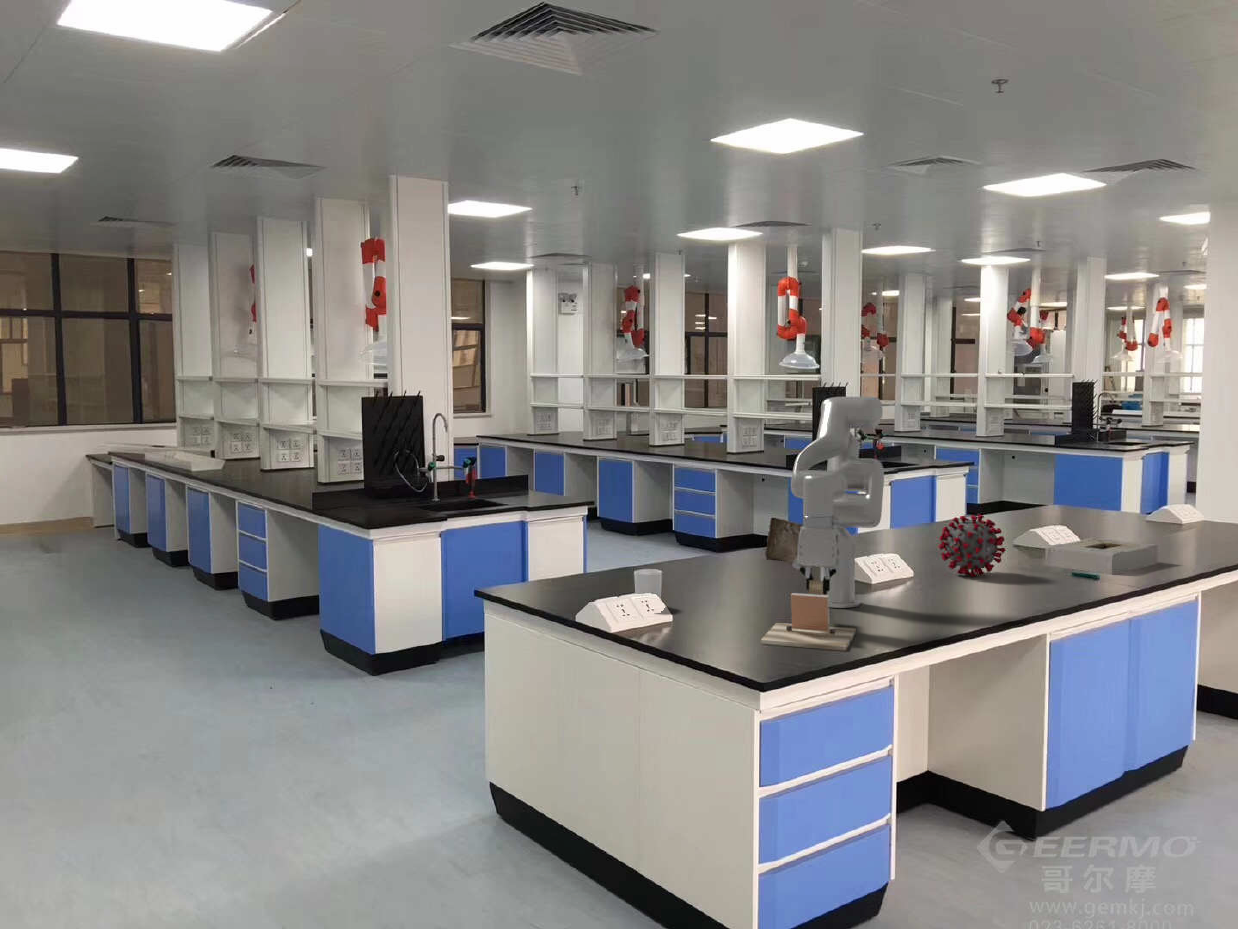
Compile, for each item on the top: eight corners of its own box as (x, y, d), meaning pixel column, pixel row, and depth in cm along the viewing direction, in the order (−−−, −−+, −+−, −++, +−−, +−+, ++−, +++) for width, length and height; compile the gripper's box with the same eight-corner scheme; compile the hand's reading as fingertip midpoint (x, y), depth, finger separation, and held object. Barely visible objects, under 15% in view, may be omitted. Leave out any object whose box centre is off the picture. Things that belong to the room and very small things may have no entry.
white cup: (661, 603, 277) (660, 568, 276) (663, 609, 269) (663, 574, 268) (633, 603, 276) (633, 569, 276) (635, 609, 269) (634, 574, 268)
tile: (791, 593, 237) (790, 595, 236) (828, 595, 234) (827, 597, 233) (792, 627, 240) (792, 629, 238) (829, 629, 236) (828, 631, 235)
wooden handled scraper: (806, 596, 255) (807, 581, 255) (837, 598, 252) (838, 582, 253) (793, 594, 237) (794, 578, 238) (826, 597, 235) (827, 580, 235)
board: (776, 626, 248) (776, 618, 247) (855, 632, 241) (855, 624, 240) (760, 643, 231) (760, 634, 231) (845, 651, 224) (845, 641, 224)
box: (1090, 556, 350) (1044, 566, 330) (1091, 535, 349) (1045, 544, 330) (1158, 566, 331) (1112, 577, 312) (1159, 544, 330) (1113, 553, 311)
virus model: (1014, 581, 303) (1016, 518, 301) (949, 581, 303) (950, 519, 302) (991, 569, 323) (992, 510, 322) (930, 570, 324) (931, 511, 322)
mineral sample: (764, 559, 348) (765, 517, 347) (772, 558, 350) (772, 516, 349) (802, 565, 335) (802, 522, 334) (809, 564, 338) (809, 521, 337)
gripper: (852, 521, 246) (852, 592, 248) (789, 519, 252) (789, 588, 254) (848, 526, 239) (848, 598, 241) (783, 523, 245) (783, 594, 247)
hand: (818, 592), depth 247 cm, fingers closed on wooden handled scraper, 3 cm apart
